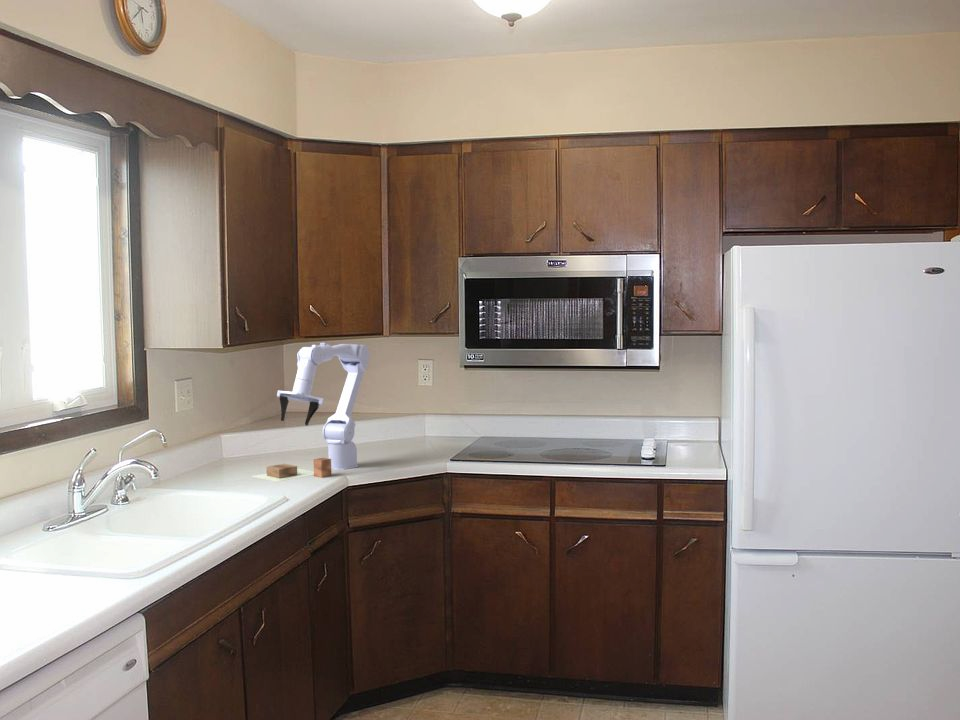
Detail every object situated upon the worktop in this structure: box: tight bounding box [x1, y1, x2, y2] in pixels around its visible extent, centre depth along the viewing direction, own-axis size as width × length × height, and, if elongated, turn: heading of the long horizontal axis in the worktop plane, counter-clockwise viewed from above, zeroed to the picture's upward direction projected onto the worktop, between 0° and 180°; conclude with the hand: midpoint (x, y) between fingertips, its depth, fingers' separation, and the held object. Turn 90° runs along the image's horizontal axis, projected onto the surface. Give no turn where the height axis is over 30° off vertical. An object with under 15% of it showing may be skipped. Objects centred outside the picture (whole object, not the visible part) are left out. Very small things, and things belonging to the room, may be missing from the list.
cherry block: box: [313, 457, 332, 479], centre depth 269 cm, size 4×4×6 cm
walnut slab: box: [265, 463, 298, 479], centre depth 270 cm, size 7×7×3 cm
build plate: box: [251, 467, 314, 483], centre depth 272 cm, size 18×14×1 cm
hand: (294, 422), depth 262 cm, fingers open, 7 cm apart
